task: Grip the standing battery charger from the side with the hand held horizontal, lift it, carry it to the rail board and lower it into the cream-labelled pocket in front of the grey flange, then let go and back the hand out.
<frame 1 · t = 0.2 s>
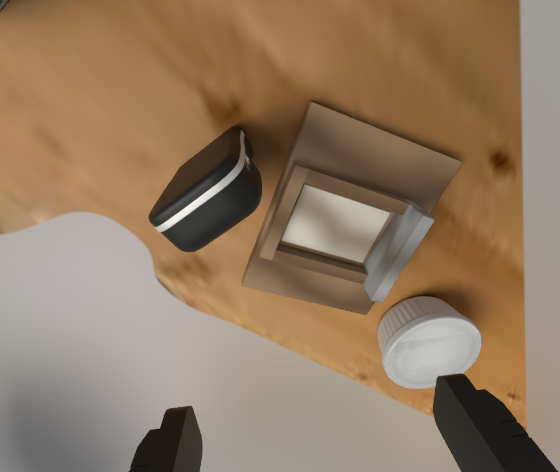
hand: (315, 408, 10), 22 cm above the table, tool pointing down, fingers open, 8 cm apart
rail board: (341, 223, 32), on the table
battery charger: (220, 162, 29), on the table
ramekin: (412, 321, 40), on the table
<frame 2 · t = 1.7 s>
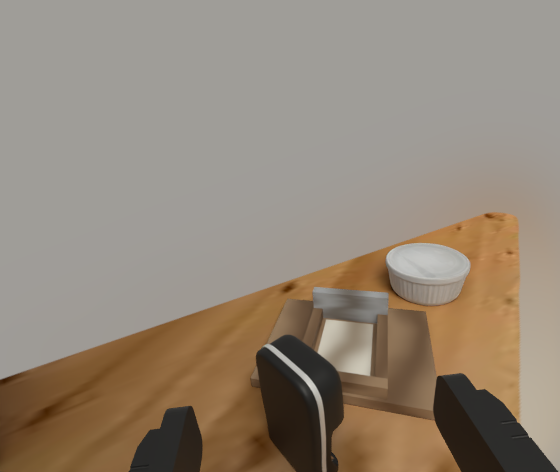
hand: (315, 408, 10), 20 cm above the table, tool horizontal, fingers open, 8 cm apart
rail board: (346, 349, 39), on the table
battery charger: (307, 452, 29), on the table
ramekin: (423, 290, 49), on the table
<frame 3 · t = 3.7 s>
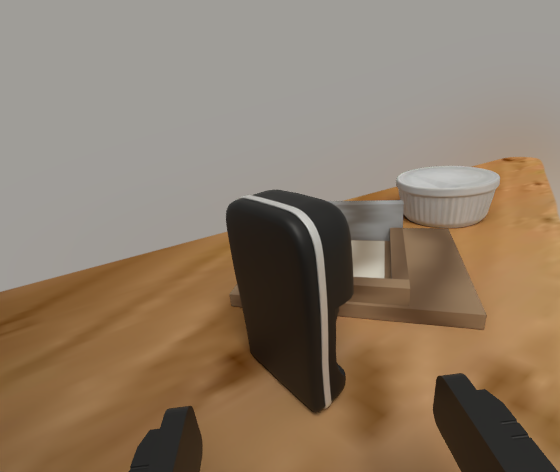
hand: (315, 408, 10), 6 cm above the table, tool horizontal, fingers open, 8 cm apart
rail board: (351, 268, 31), on the table
battery charger: (302, 369, 21), on the table
ramekin: (441, 217, 41), on the table
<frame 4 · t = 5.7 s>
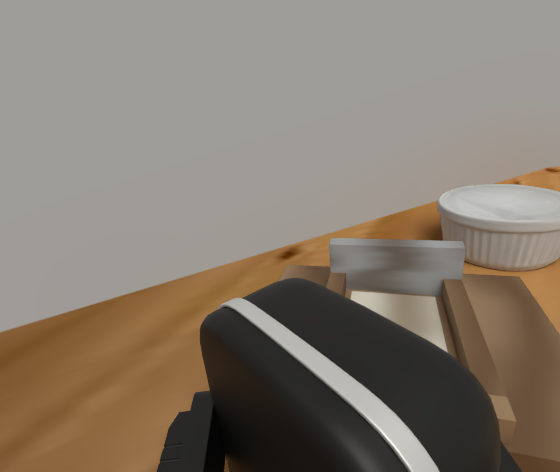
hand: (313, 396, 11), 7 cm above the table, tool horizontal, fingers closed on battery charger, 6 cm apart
rail board: (391, 339, 22), on the table
ramekin: (495, 251, 32), on the table
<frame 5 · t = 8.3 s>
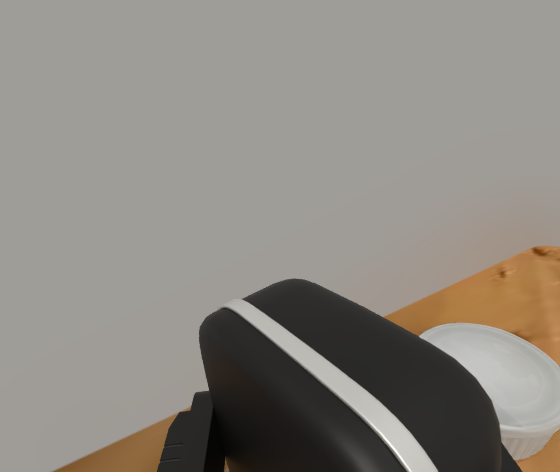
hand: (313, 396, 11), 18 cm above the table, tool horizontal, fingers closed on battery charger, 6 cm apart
ramekin: (474, 411, 29), on the table
when the fingers open (9 cm above the table, at t = 10.7 s): battery charger stays where it is, resting on rail board.
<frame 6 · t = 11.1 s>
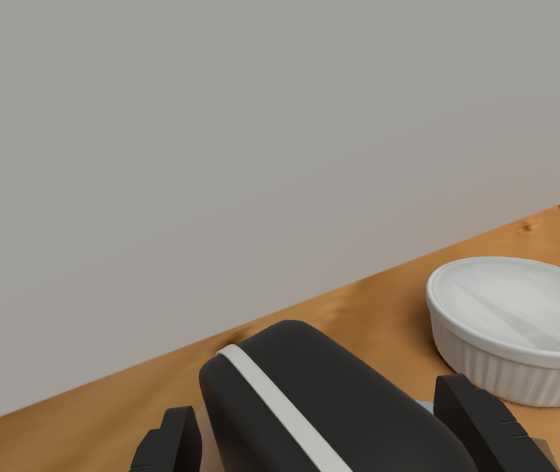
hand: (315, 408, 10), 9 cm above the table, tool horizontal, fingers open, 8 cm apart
ramekin: (504, 356, 23), on the table
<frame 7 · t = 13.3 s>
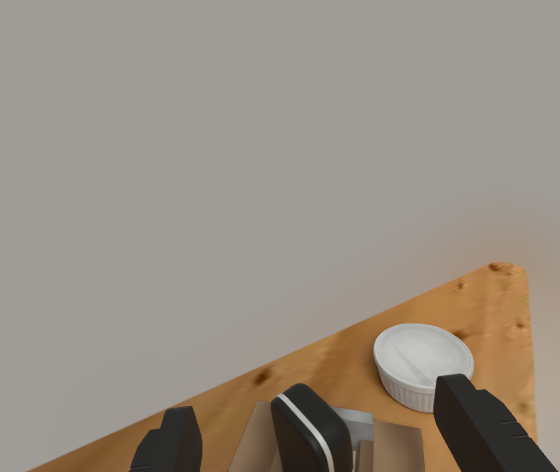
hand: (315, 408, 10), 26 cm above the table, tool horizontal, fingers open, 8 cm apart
ramekin: (419, 384, 41), on the table
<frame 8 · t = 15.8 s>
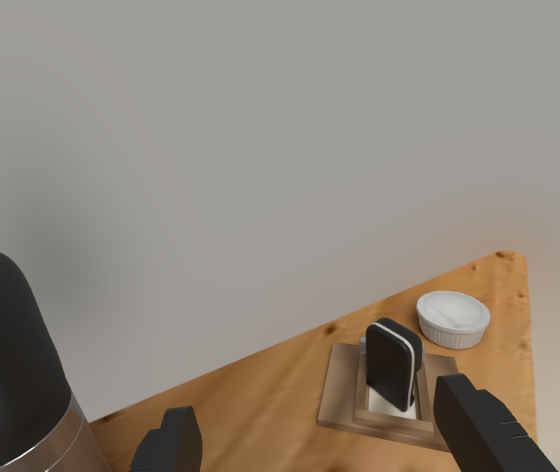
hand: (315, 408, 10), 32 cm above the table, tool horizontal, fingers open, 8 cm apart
rail board: (390, 391, 47), on the table
battery charger: (392, 392, 46), point 1 cm above the table, touching rail board
ramekin: (448, 333, 57), on the table
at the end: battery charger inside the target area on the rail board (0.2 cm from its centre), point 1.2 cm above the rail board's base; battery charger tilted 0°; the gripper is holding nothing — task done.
